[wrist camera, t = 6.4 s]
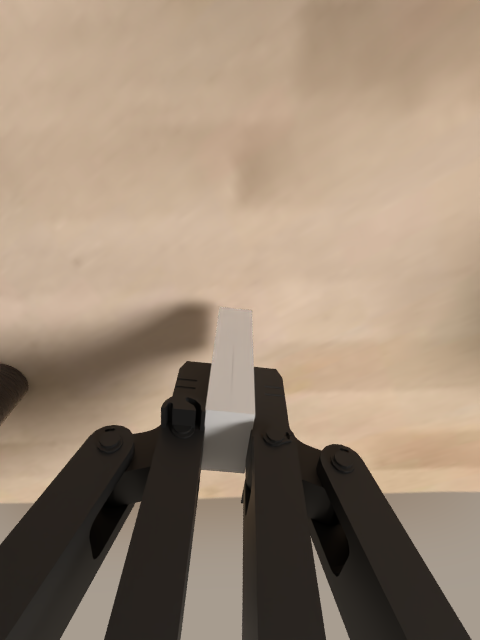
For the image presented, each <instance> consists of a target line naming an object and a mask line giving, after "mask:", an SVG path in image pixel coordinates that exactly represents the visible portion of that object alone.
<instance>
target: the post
mask: <svg viewBox="0 0 480 640" xmlns="http://www.w3.org/2000/svg"><path fill="white" fill-rule="evenodd" d="M27 390H28V382H27V380H26V378H25V377H24V375H23V374H22V373H21V372H19V371H18V370H16V369H15V368H13V367H11V366H8V365H4V364H0V425H1V424H2V423H3V421H4V420H5V419H6V418H7V416H8V415H9V414H10V413H11V411H12V410H13V409H14V407H15V406H16V405H17V404H18V402H19V401H20V400H21V399H22V397H23V396H24V395H25V394H26V392H27Z"/></svg>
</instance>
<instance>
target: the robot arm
mask: <svg viewBox="0 0 480 640" xmlns="http://www.w3.org/2000/svg"><path fill="white" fill-rule="evenodd" d="M245 467H246V478H245V484H244V489H243V494H242V500H241V503H243V610H242V611H243V613H242V640H326V636H325V630H324V623H323V616H322V610H321V603H320V597H319V590H318V583H317V577H316V570H315V564H314V558H313V550H312V544H311V538H312V541H313V543H314V546H315V549H316V551H317V554H318V556H319V559H320V562H321V564H322V567H323V570H324V572H325V575H326V578H327V580H328V583H329V585H330V588H331V591H332V593H333V596H334V599H335V601H336V604H337V607H338V609H339V612H340V615H341V617H342V620H343V622H344V625H345V628H346V630H347V633H348V636H349V638H350V640H471V639H470V637H469V635H468V633H467V632H466V630H465V628H464V627H463V625H462V623H461V622H460V620H459V619H458V617H457V615H456V613H455V612H454V610H453V609H452V607H451V605H450V604H449V602H448V601H447V599H446V597H445V595H444V594H443V592H442V590H441V589H440V587H439V585H438V584H437V582H436V581H435V579H434V577H433V575H432V574H431V572H430V571H429V569H428V567H427V566H426V564H425V562H424V561H423V559H422V557H421V556H420V554H419V552H418V551H417V549H416V548H415V546H414V544H413V543H412V541H411V539H410V538H409V536H408V534H407V533H406V531H405V529H404V528H403V526H402V524H401V523H400V521H399V519H398V518H397V516H396V514H395V513H394V511H393V509H392V508H391V506H390V505H389V503H388V501H387V500H386V498H385V496H384V495H383V493H382V491H381V490H380V488H379V486H378V485H377V483H376V481H375V480H374V478H373V476H372V475H371V473H370V471H369V470H368V468H367V467H366V465H365V463H364V462H363V460H362V459H361V457H360V456H359V455H358V454H357V453H356V452H355V451H353V450H352V449H350V448H349V447H346V446H343V445H338V444H332V445H329V446H326V447H325V448H324V449H323V450H322V451H321V450H318V449H315V448H313V447H310V446H308V445H306V444H303V443H302V442H300V441H299V440H298V439H297V438H296V437H295V436H294V434H293V432H292V431H291V430H290V427H289V422H288V415H287V408H286V401H285V394H284V387H283V379H282V377H281V376H280V374H279V373H278V371H277V370H276V369H269V368H259V367H254V359H253V328H252V310H245V309H236V308H226V307H219V314H218V321H217V328H216V336H215V343H214V350H213V357H212V364H211V363H201V362H191V361H187V362H186V363H185V364H184V365H183V366H182V367H181V368H180V369H179V373H178V377H177V381H176V385H175V389H174V392H173V396H172V397H170V398H169V399H167V400H166V401H165V402H164V403H163V405H162V407H161V425H160V426H159V427H157V428H155V429H153V430H151V431H147V432H143V433H137V434H132V433H131V431H130V430H129V429H127V428H125V427H123V426H118V425H111V426H105V427H103V428H100V429H98V430H96V431H95V432H94V433H93V434H92V435H90V436H89V438H88V439H87V440H86V441H85V442H84V444H83V445H82V446H81V447H80V449H79V450H78V451H77V452H76V453H75V455H74V456H73V457H72V458H71V459H70V461H69V462H68V463H67V464H66V466H65V467H64V468H63V469H62V470H61V472H60V473H59V474H58V475H57V477H56V478H55V479H54V480H53V481H52V483H51V484H50V485H49V486H48V487H47V489H46V490H45V491H44V492H43V494H42V495H41V496H40V497H39V498H38V500H37V501H36V502H35V503H34V504H33V506H32V507H31V508H30V509H29V511H28V512H27V513H26V514H25V515H24V517H23V518H22V519H21V520H20V521H19V523H18V524H17V525H16V526H15V528H14V529H13V530H12V531H11V532H10V534H9V535H8V536H7V537H6V539H5V540H4V541H3V542H2V543H1V545H0V640H60V638H61V636H62V634H63V633H64V631H65V629H66V627H67V625H68V624H69V622H70V620H71V618H72V616H73V615H74V613H75V611H76V609H77V607H78V606H79V604H80V602H81V600H82V598H83V597H84V594H85V593H86V591H87V589H88V588H89V586H90V584H91V582H92V580H93V579H94V577H95V574H96V573H97V571H98V569H99V568H100V566H101V564H102V562H103V560H104V559H105V557H106V555H107V553H108V551H109V550H110V548H111V546H112V544H113V542H114V540H115V539H116V537H117V535H118V533H119V532H120V530H121V528H122V526H123V524H124V522H125V520H126V519H127V517H128V515H129V514H130V512H131V510H132V508H133V506H134V504H135V503H136V502H140V501H141V504H140V508H139V512H138V516H137V519H136V523H135V527H134V530H133V534H132V538H131V542H130V545H129V549H128V553H127V556H126V560H125V564H124V568H123V572H122V575H121V579H120V583H119V586H118V590H117V594H116V597H115V601H114V605H113V609H112V612H111V616H110V620H109V624H108V627H107V631H106V635H105V639H104V640H180V638H181V630H182V622H183V613H184V606H185V597H186V590H187V581H188V572H189V565H190V556H191V549H192V541H193V532H194V524H195V516H196V508H197V500H198V492H199V483H200V473H201V470H211V471H223V472H234V473H245ZM310 536H311V537H310Z"/></svg>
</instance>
